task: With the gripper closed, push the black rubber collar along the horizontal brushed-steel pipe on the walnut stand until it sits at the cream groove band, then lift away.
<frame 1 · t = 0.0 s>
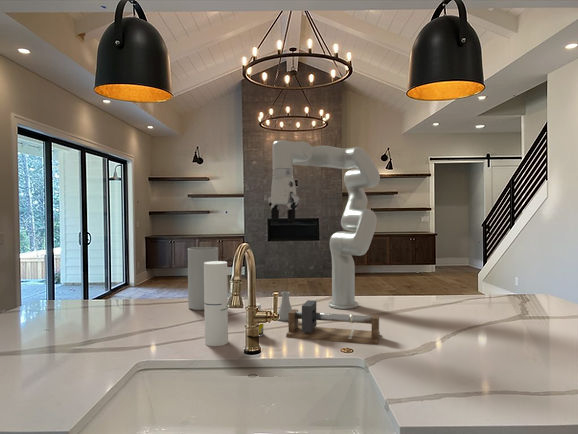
hand: (283, 220, 155), 37 cm above the counter, tool pointing down, fingers open, 9 cm apart
steel pipe: (333, 317, 135), point 5 cm above the counter
supplement bottle: (255, 335, 137), on the counter
cylinder vase: (203, 307, 176), on the counter
cylindrical container: (216, 343, 130), on the counter
pipe stand: (333, 335, 136), on the counter
flask: (285, 319, 157), on the counter
rubber collar: (309, 315, 138), point 6 cm above the counter, slide at 0.0 cm
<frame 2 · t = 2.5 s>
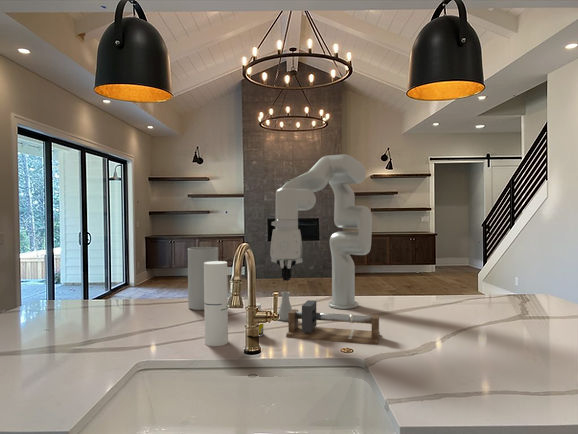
hand: (286, 279, 139), 18 cm above the counter, tool pointing down, fingers closed
nothing on the counter moved.
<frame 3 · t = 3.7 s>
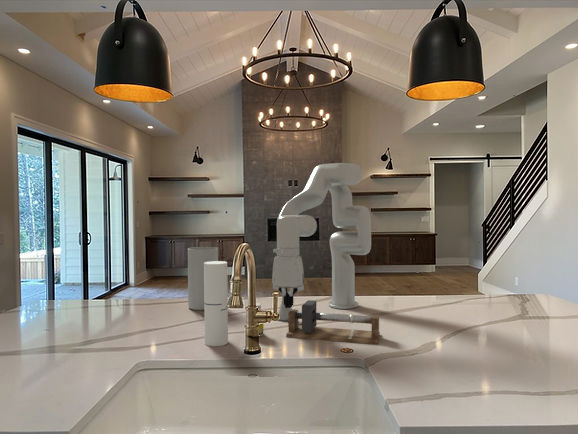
hand: (288, 307, 140), 8 cm above the counter, tool pointing down, fingers closed
nothing on the counter moved.
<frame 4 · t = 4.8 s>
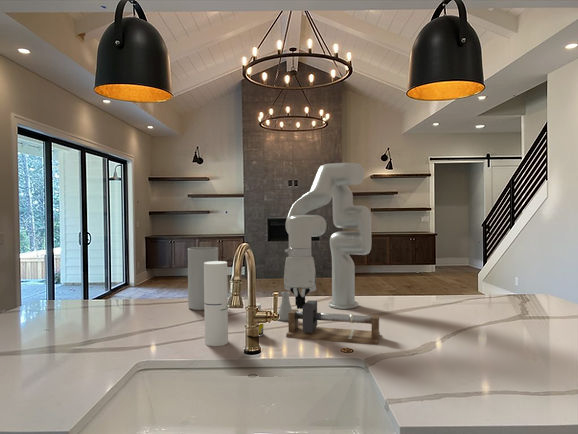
hand: (300, 307, 138), 8 cm above the counter, tool pointing down, fingers closed
rubber collar: (310, 315, 138), point 6 cm above the counter, slide at 0.3 cm, touching gripper
everything else where it was.
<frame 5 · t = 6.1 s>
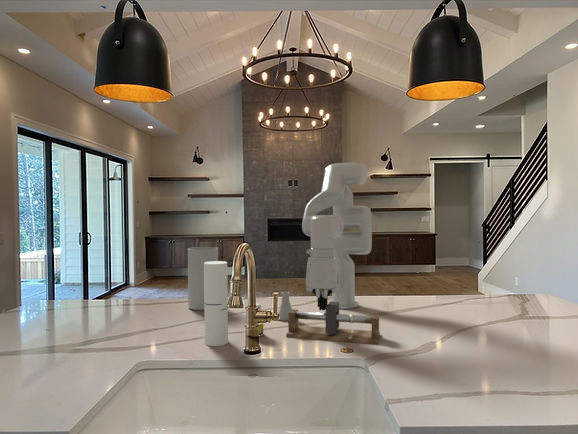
hand: (322, 309, 136), 8 cm above the counter, tool pointing down, fingers closed
rubber collar: (332, 317, 136), point 6 cm above the counter, slide at 7.8 cm, touching gripper
everything else where it was.
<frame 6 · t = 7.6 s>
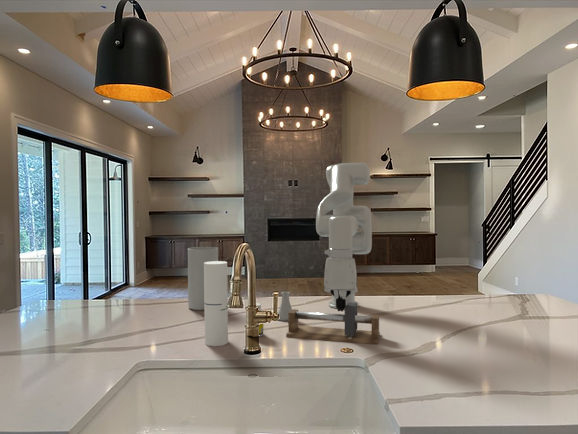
hand: (340, 310, 135), 8 cm above the counter, tool pointing down, fingers closed
rubber collar: (351, 318, 134), point 6 cm above the counter, slide at 13.8 cm, touching gripper
everything else where it was.
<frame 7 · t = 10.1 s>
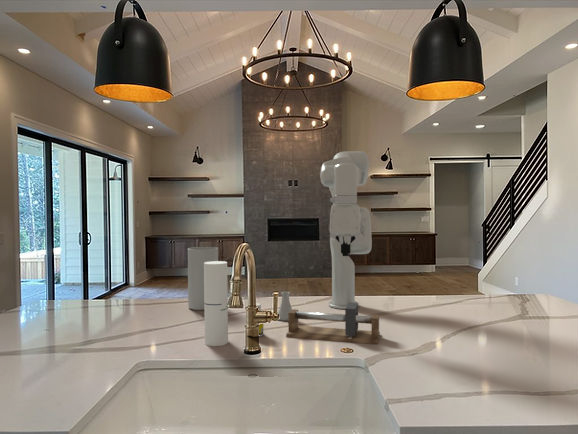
hand: (345, 255, 139), 26 cm above the counter, tool pointing down, fingers closed
rubber collar: (351, 318, 134), point 6 cm above the counter, slide at 14.1 cm
everything else where it was.
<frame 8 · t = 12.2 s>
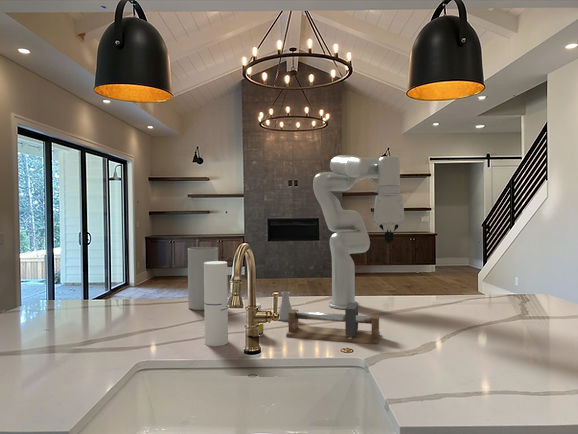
hand: (389, 243, 148), 29 cm above the counter, tool pointing down, fingers closed
nothing on the counter moved.
at the end: rubber collar slide at 14.1 cm; the gripper is holding nothing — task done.
